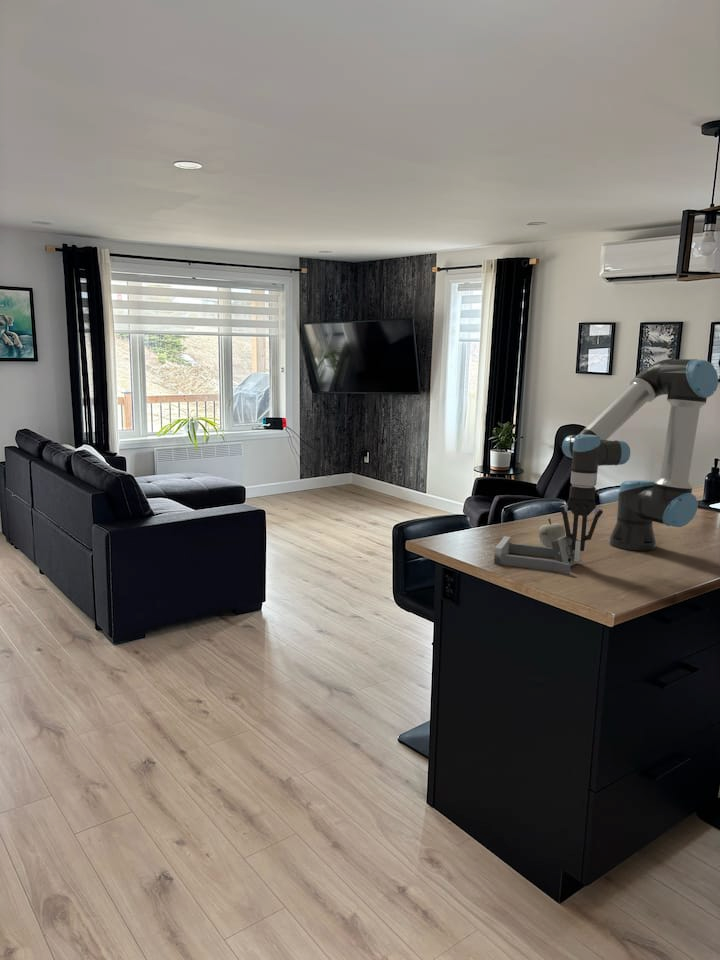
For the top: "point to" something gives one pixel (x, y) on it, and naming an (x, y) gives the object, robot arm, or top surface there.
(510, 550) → the rail channel
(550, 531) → the decorative object
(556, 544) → the electrical switch
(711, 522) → the top surface
